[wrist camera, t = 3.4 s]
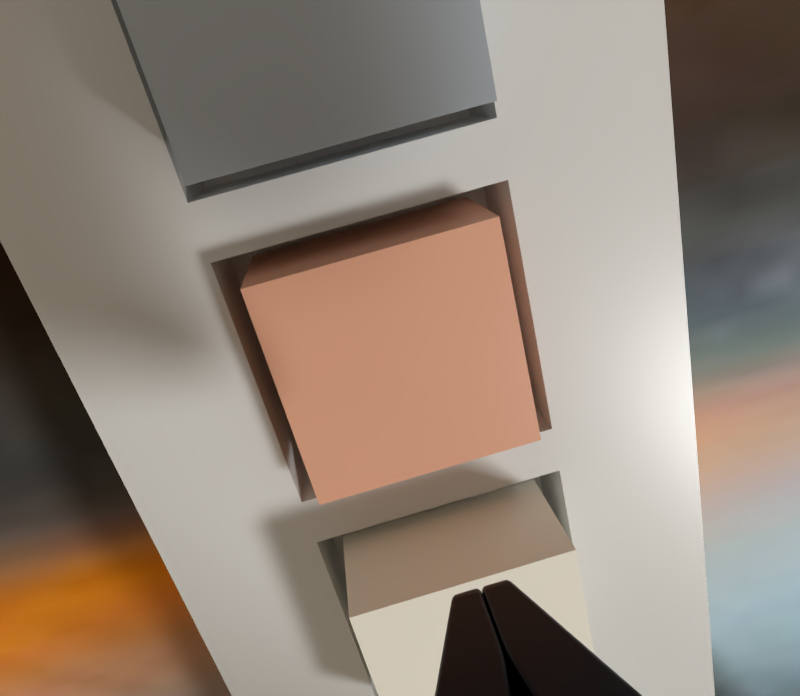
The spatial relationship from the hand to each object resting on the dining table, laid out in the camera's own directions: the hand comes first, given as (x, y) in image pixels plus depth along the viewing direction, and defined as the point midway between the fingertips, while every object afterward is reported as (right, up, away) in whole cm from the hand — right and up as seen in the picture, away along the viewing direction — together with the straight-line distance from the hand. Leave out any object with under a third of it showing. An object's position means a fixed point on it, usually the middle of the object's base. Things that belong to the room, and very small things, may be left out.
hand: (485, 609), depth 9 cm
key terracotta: (-2, +4, +5) cm, 7 cm away
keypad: (-1, +2, +9) cm, 10 cm away
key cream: (0, -2, +6) cm, 7 cm away
